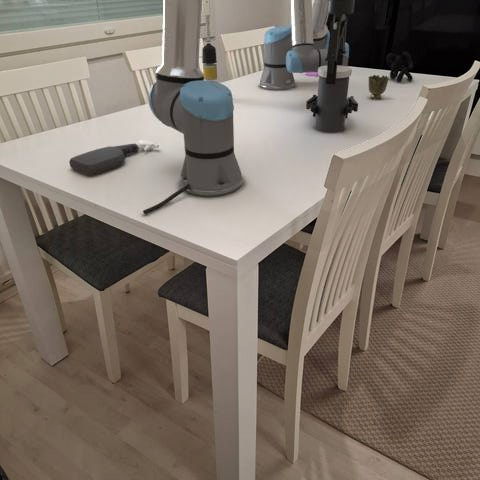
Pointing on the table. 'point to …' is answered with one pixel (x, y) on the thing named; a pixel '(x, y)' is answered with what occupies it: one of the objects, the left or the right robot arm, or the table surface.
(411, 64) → the squiggle
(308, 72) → the bracket
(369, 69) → the table surface
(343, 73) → the lid
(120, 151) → the spray bottle
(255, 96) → the table surface
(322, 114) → the jar
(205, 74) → the filter
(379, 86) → the cup
